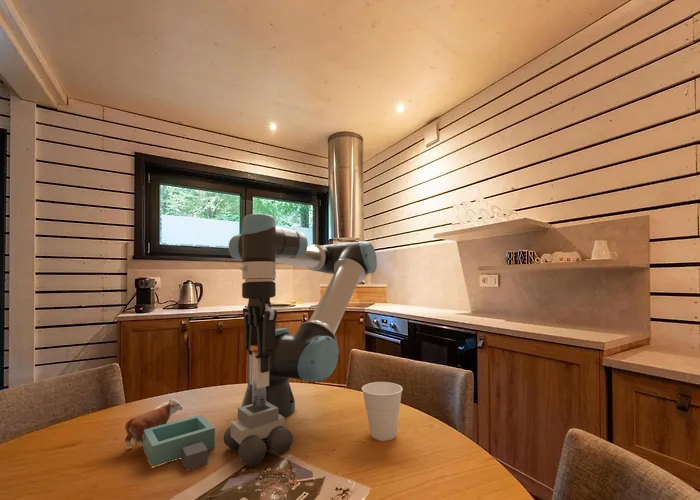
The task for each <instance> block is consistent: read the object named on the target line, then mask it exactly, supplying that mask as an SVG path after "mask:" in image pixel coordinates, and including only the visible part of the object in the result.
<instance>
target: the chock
mask: <svg viewBox="0 0 700 500" xmlns="http://www.w3.org/2000/svg"><path fill="white" fill-rule="evenodd" d="M182 462H183V463H182ZM208 462H209V450H208V449H207V447H206V446H205V445H204V443H203V442H200V443H196V444H193V445H190V446H186V447H183V448H182V459H181V463H182V465H183V464H184V465H183V467H184V466H185V467H184V469H185V468H186V469H185V471H186V470H188V471H190V470H189V469H191V470H193V469H192V468H194V469H197V468H199V467H202V466H203V467H204V466H206V465H208V464H209V463H208ZM196 467H197V468H196Z"/></svg>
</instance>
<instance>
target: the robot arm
mask: <svg viewBox="0 0 700 500" xmlns="http://www.w3.org/2000/svg"><path fill="white" fill-rule="evenodd" d="M276 225H277V224H276V218H275V217H274V216H273V215H271V214H268V213H267V214H266V213H252V214H251V213H250V214H247V215H245V216H244V217H243V218H242V227H241V233H239V234H235V235H234V236H233V237H232V236H231V238H230V240H229V242H228V252H229V254H230V256H231V258H233V259H234V260H236V261H241V262H242V266H241V267H240V271H241V272H242V273H241V274H242V275H241V276H242V280H244V282H242V283H241V297H242V298H243V299H248V302H247V307H243V308H242V315H243V327H244V328H243V329H244V331H243V332H244V349H245V351H247V387H246V390H245V393H244V396H243V399H242V403H241V405H240V407H243V406H246V405H250V404H252V351H251V345H253V344H258V355H256V356H255V358H256V388H262V387H266V401H267V402H269V403H270V404H272V405H274V406H276V407H277V408H278V414H280V415H282V416H283V417H285V418H286V417H289V416H290V415H292V414H293V413H294V411H296V399H295V397H294V394H293V391H292V387H291V385H290V380H289V379H293V380H294V379H296V380H301V381H305V382H322V381H324V380H326V379H328V378H329V377H330V376H331V375H332V374H333V372H334V371H335V369H336V367H337V364H338V362H339V357H338V355H339V354H340V353H339V352H340V351H339V350H340V349H339V344H338V342H337V337H336V335H335V334H336V333H337V330H338V327H339V325H340V323H341V320H342V318H343V316H344V314H345V313H346V310H347V307H348V305H349V303H350V302H351V299H352V296H353V294H354V292H355V290H356V288H357V286H358V284H360V283H362V282H363V281H365V278H366V276H367V274H370V275H371V274H374V273H375V272H376V270H377V267H378V266H377V265H378V260H377V259H378V258H377V254H376V249H375V247H374V245H373V244H372V242H370V241H368V240H367V241H365V240H359V241H353V242H340V243H331V244H322V245H321V244H312V245H309V243H308V239H307V236H306V234H304V232H302V231H299V230H296V229H294V228H293V229H290V228H284V227H279V226H276ZM276 264H282V265H288V266H298V267H303V268H304V267H305V268H307V269H308V270H310V271H313V272H319V273H325V274H330V275H332V277H331V279H330V281H329V283H328V285H327V286H326V288H325V290H324V292H323V294H322V296H321V298H320V299H319V302H318V303H317V305H316V306H315V309H314V310H313V313H312V314H311V316H310V318H309V320H307V321H304V322H302V323H301V324H300V326H299V328H298V330H297V331H296V333H293V334H292V333H290V330H289V328H287V327H281V328H280V327H279V328H277V327H276V325H277V324H276V323H277V322H276V321H277V317H278V310H277V309H274V310H273V309H272V304H271V298H275V297H276V294H277V293H276V291H277V290H276V288H277V287H276V285H277V284H276V282H275V281H274V280H275V279H276V273H277V272H276V271H277V270H276V269H277V268H276Z"/></svg>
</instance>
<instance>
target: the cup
mask: <svg viewBox="0 0 700 500" xmlns="http://www.w3.org/2000/svg"><path fill="white" fill-rule="evenodd" d="M361 391H362V393H363V400H364V405H365V411H366V416H367V422H368V427H369V432H370V436H371V437H372V438H373V439H374V440H376V441H379V442H380V441H381V442H388V441H391V440H394V438H396V436H397V433H398V425H399V423H398V422H399V415H400V407H401V398H402V392H403V391H404V390H403V386H401V385H400V384H398V383H394V382H391V381H390V382H389V381H374V382H369V383H366V384H363V385H362V386H361Z"/></svg>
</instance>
